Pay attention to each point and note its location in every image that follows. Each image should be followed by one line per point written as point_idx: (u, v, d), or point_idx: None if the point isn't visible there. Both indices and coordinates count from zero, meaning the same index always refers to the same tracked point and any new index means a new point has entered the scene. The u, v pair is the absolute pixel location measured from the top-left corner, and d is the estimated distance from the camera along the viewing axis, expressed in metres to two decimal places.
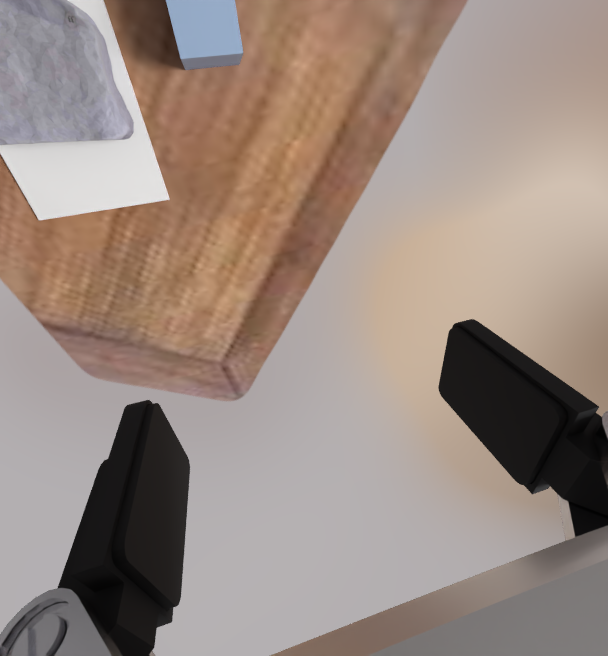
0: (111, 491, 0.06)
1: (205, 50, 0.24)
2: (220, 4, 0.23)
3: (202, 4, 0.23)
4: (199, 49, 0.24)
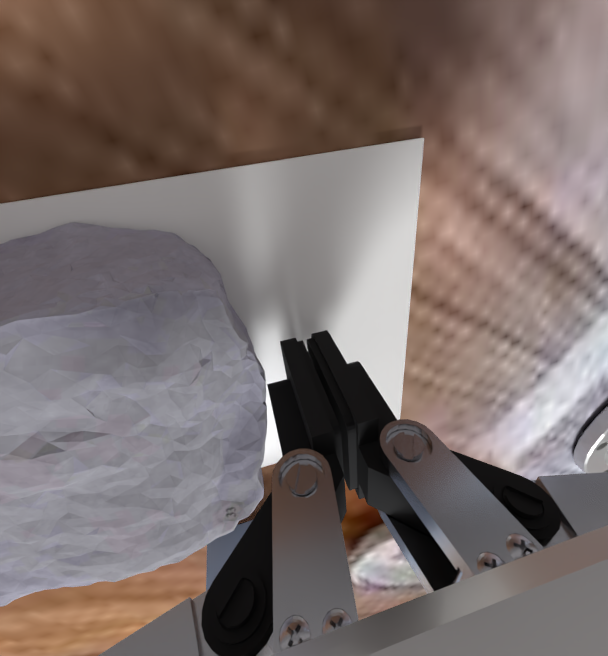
0: (308, 391, 0.08)
1: None
2: None
3: None
4: None
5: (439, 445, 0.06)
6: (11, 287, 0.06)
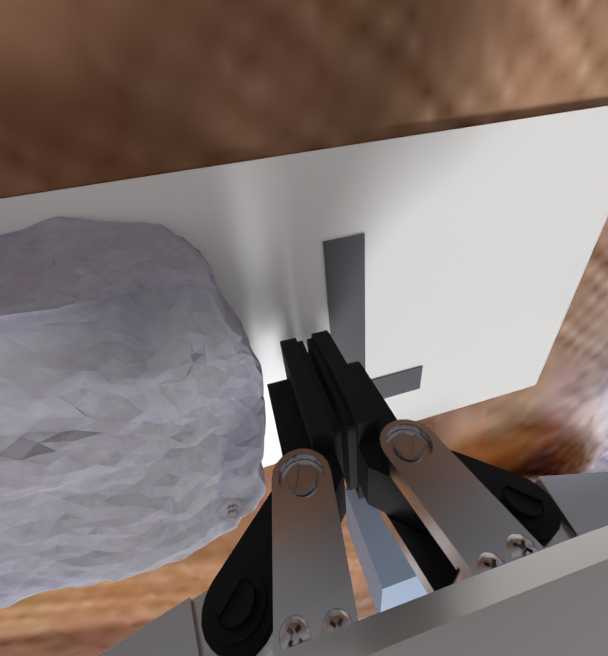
0: (308, 391, 0.08)
1: (388, 600, 0.16)
2: None
3: None
4: (389, 597, 0.15)
5: (439, 445, 0.06)
6: None
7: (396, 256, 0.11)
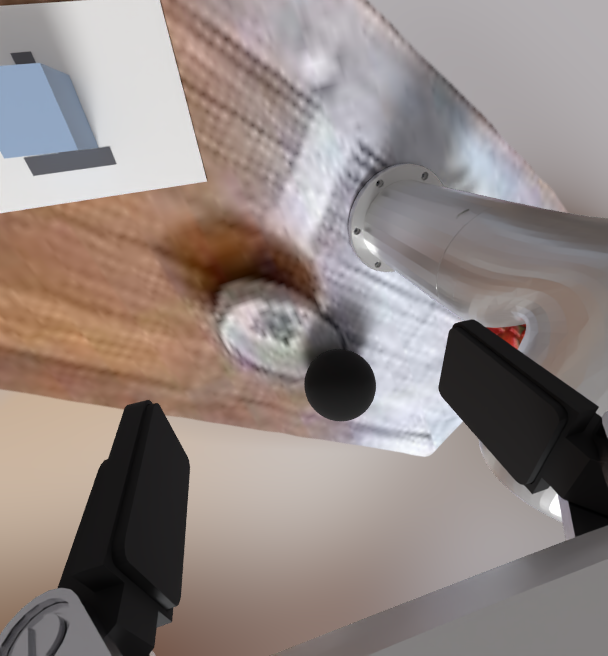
0: (111, 491, 0.06)
1: None
2: (38, 136, 0.22)
3: (28, 113, 0.21)
4: None
5: None
6: None
7: (55, 67, 0.24)
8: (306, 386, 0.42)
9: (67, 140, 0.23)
